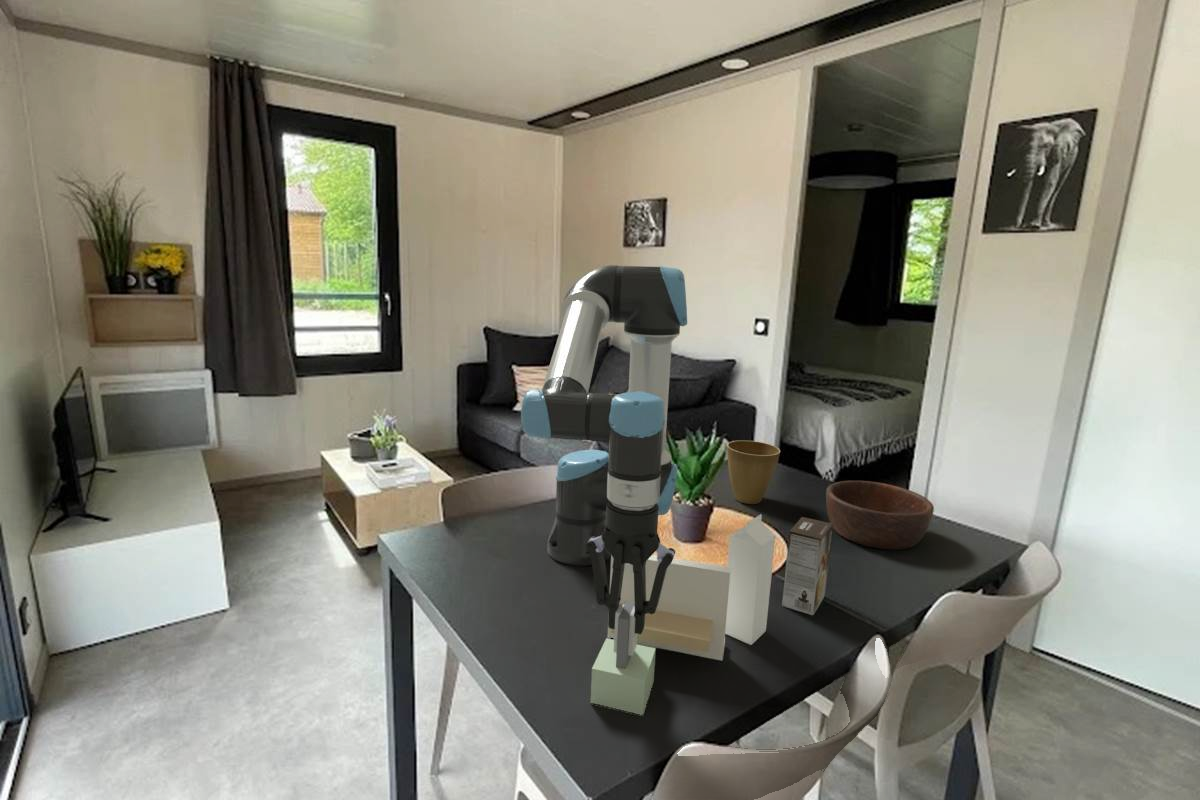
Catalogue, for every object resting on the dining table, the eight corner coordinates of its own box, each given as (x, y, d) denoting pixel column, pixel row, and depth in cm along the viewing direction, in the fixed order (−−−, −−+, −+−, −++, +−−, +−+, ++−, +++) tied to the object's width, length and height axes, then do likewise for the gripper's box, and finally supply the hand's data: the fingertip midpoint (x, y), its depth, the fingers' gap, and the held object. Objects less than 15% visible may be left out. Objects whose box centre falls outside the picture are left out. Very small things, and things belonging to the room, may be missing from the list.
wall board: (598, 657, 101) (601, 569, 98) (613, 624, 111) (617, 542, 108) (719, 683, 96) (727, 590, 93) (724, 645, 106) (731, 560, 103)
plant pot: (727, 508, 170) (732, 453, 167) (719, 489, 184) (723, 439, 181) (780, 510, 169) (786, 455, 166) (768, 492, 184) (773, 441, 181)
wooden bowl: (832, 549, 146) (837, 509, 144) (815, 511, 170) (819, 476, 168) (943, 561, 142) (950, 520, 140) (909, 520, 166) (915, 484, 164)
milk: (765, 631, 111) (778, 518, 106) (751, 646, 106) (763, 528, 102) (735, 618, 114) (746, 508, 110) (720, 632, 110) (731, 518, 105)
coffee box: (793, 587, 127) (801, 515, 124) (825, 596, 124) (834, 523, 120) (780, 606, 119) (789, 530, 116) (814, 616, 116) (823, 538, 113)
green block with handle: (590, 704, 90) (593, 619, 87) (604, 671, 98) (608, 592, 95) (643, 716, 88) (648, 629, 85) (653, 682, 96) (658, 601, 93)
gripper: (576, 503, 85) (571, 653, 90) (679, 518, 81) (668, 674, 86) (591, 486, 92) (586, 626, 97) (686, 499, 88) (676, 644, 93)
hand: (625, 648), depth 91 cm, fingers closed on green block with handle, 1 cm apart
